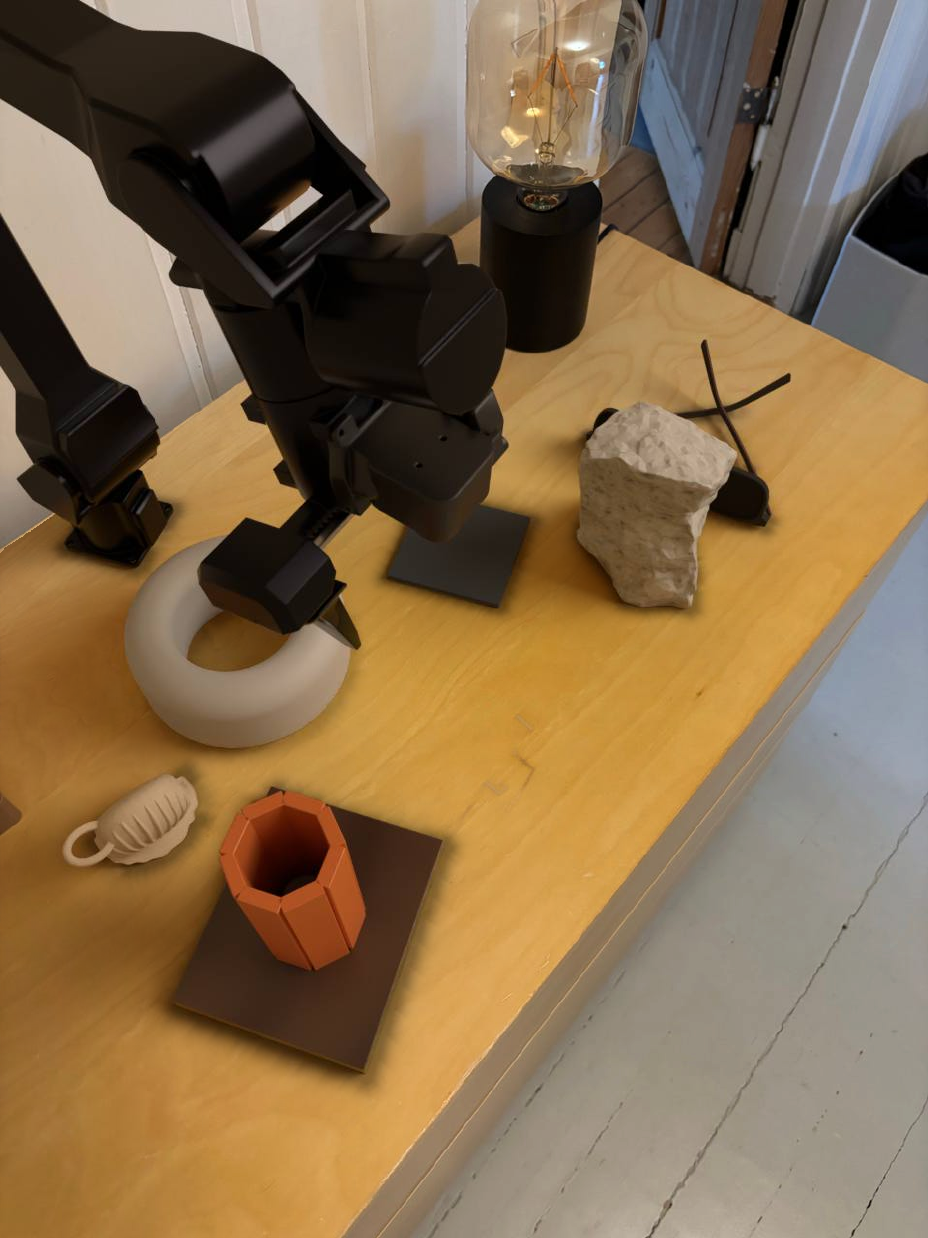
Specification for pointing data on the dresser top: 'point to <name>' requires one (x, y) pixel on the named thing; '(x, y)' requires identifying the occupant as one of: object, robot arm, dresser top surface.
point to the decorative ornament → (140, 823)
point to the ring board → (342, 990)
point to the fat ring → (223, 701)
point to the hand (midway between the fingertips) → (400, 590)
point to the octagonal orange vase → (276, 854)
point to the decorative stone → (649, 501)
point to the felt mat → (465, 557)
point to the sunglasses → (742, 489)
